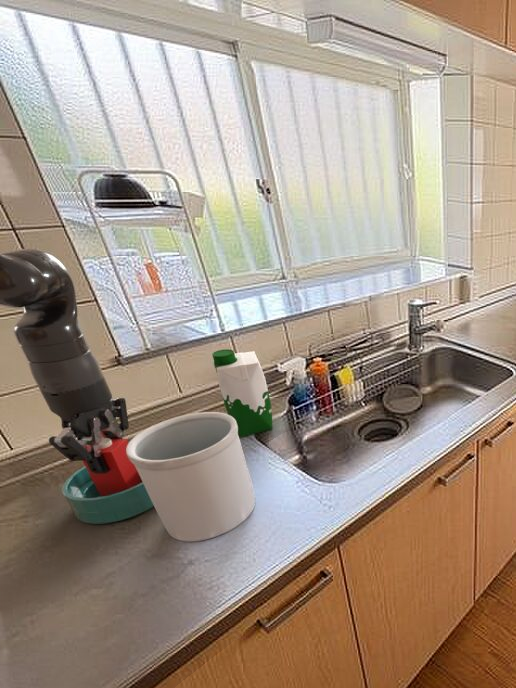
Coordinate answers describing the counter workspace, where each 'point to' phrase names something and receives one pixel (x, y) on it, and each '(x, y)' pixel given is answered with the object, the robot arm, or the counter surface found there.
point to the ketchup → (115, 468)
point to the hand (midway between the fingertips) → (111, 463)
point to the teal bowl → (103, 500)
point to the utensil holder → (195, 474)
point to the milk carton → (244, 390)
